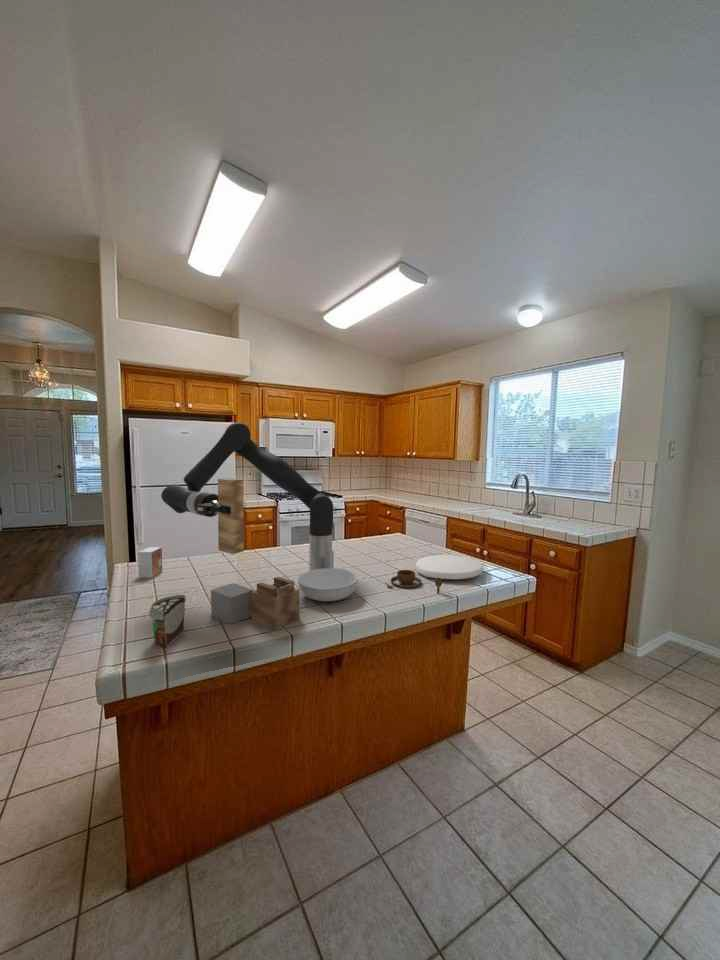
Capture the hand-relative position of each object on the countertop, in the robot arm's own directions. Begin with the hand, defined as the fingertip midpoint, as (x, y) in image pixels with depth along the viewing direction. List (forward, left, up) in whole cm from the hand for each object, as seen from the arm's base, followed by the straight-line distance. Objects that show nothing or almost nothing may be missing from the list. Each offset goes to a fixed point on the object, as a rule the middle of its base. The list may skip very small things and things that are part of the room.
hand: (236, 509), depth 115 cm
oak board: (0, -3, -13) cm, 13 cm away
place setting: (-56, +29, -34) cm, 72 cm away
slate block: (0, -3, -33) cm, 33 cm away
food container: (+20, -5, -33) cm, 39 cm away
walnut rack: (-6, +10, -33) cm, 35 cm away
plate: (-81, +33, -34) cm, 94 cm away
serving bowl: (-30, +10, -33) cm, 46 cm away
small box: (-3, -61, -33) cm, 69 cm away
